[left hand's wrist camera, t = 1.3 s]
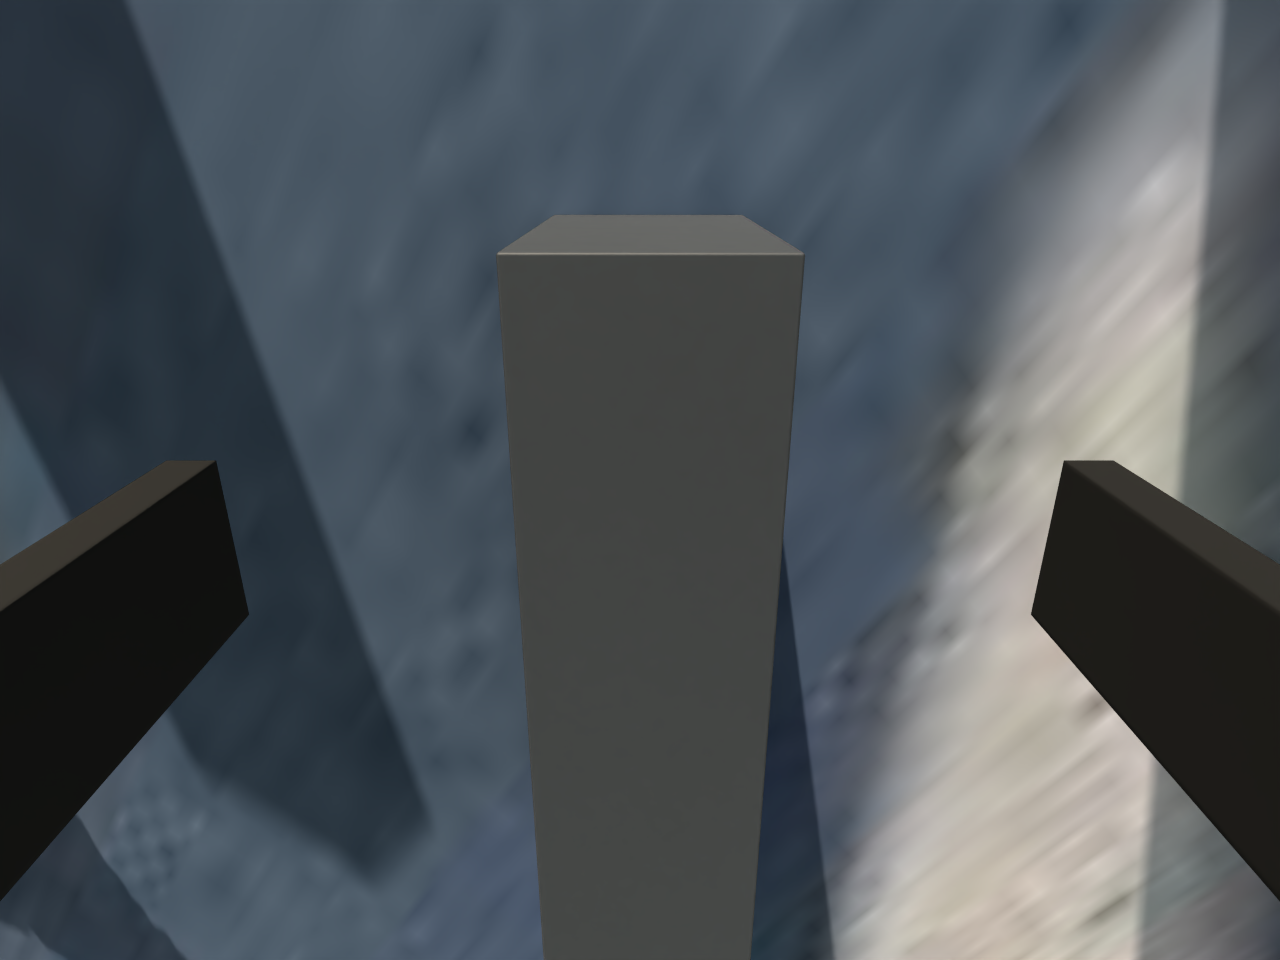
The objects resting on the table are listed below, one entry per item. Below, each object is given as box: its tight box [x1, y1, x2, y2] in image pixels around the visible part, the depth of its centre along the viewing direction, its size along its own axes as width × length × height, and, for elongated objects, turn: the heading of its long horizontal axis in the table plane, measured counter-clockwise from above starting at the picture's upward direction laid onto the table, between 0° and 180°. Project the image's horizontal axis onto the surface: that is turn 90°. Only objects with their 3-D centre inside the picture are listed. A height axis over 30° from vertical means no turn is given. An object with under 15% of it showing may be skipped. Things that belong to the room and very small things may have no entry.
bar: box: [496, 215, 805, 960], centre depth 21 cm, size 22×5×9 cm, turn 0°
